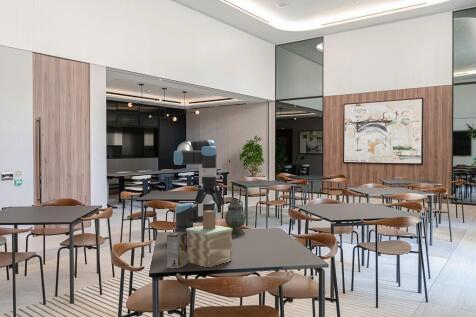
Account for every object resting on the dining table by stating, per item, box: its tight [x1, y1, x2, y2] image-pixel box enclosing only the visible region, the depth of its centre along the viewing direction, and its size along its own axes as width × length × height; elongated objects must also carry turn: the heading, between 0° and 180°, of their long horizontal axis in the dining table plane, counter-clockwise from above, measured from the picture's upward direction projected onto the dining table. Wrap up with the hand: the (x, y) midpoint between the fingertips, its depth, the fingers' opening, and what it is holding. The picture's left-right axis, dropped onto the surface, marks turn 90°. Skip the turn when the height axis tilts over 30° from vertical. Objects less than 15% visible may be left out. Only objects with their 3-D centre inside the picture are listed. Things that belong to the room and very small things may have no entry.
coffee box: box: [166, 232, 188, 269], centre depth 181 cm, size 9×6×16 cm
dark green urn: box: [224, 197, 246, 237], centre depth 255 cm, size 14×14×25 cm
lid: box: [186, 210, 232, 236], centre depth 188 cm, size 17×17×10 cm
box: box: [187, 231, 233, 268], centre depth 188 cm, size 16×16×16 cm
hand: (209, 217), depth 188 cm, fingers open, 13 cm apart
